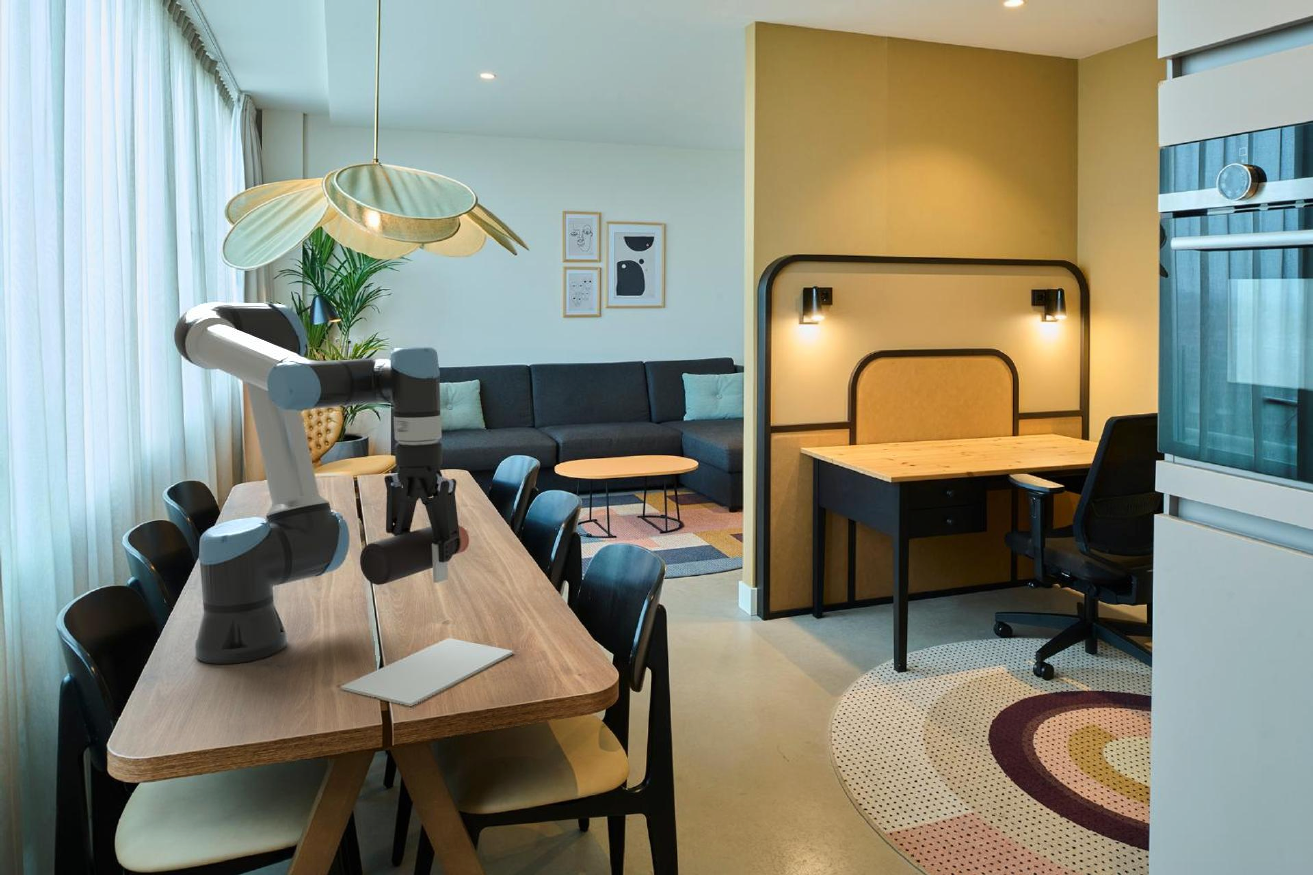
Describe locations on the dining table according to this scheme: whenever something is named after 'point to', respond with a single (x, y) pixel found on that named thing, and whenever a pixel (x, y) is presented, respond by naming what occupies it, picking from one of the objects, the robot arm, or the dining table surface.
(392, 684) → the mat
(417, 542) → the vinegar
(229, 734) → the dining table surface
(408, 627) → the dining table surface
